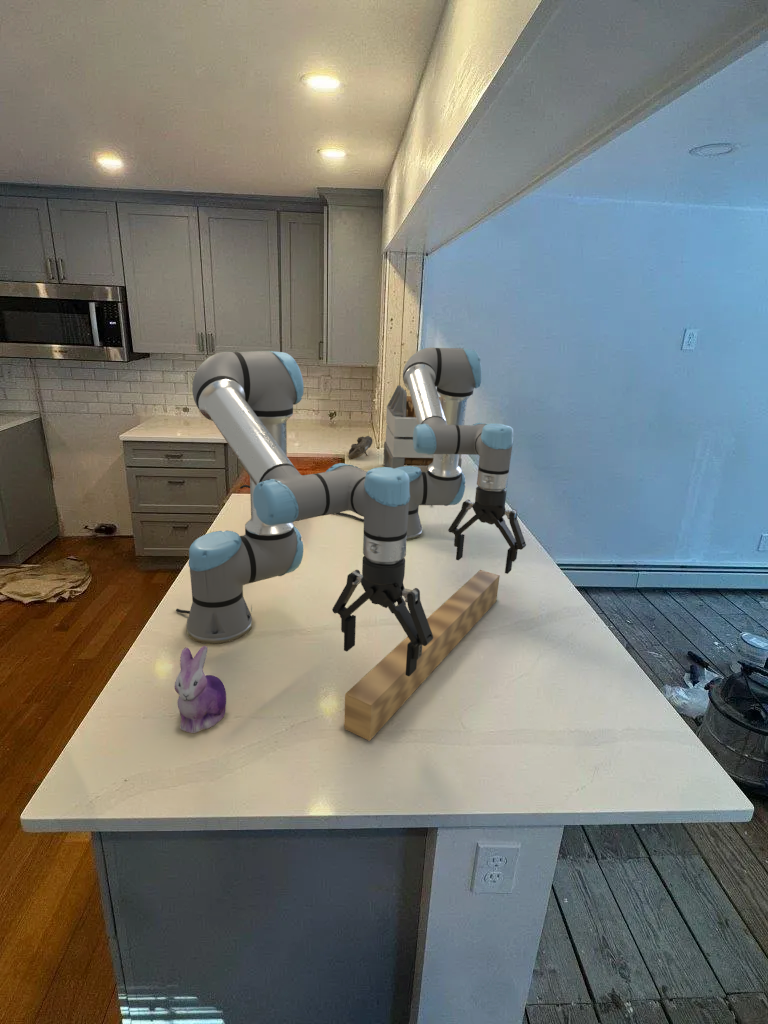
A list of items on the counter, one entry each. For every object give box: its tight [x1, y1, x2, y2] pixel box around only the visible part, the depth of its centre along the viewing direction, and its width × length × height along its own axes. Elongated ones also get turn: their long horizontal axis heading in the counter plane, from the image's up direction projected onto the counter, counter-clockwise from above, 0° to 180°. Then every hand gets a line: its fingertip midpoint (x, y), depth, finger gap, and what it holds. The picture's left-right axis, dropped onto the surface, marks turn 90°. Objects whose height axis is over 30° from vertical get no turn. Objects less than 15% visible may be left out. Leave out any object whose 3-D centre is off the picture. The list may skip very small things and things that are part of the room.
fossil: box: [347, 435, 373, 460], centre depth 301 cm, size 22×10×15 cm
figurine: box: [174, 645, 227, 734], centre depth 105 cm, size 9×10×15 cm
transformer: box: [383, 384, 465, 469], centre depth 268 cm, size 34×33×41 cm
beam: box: [343, 569, 501, 742], centre depth 130 cm, size 65×6×8 cm, turn 149°
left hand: (379, 659), depth 106 cm, fingers open, 13 cm apart
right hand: (483, 565), depth 148 cm, fingers open, 13 cm apart
